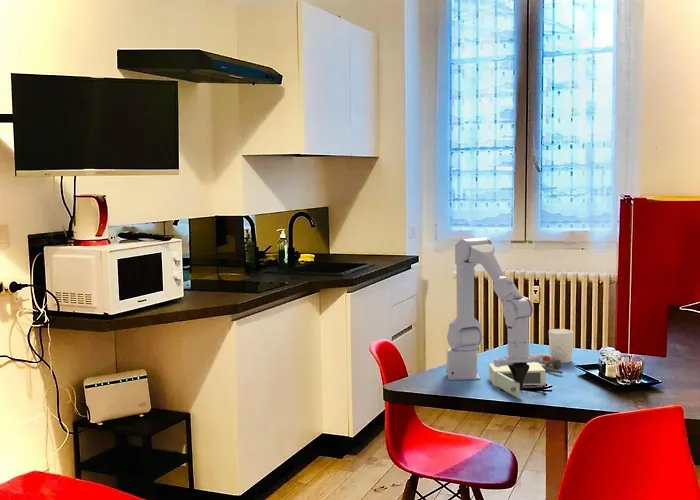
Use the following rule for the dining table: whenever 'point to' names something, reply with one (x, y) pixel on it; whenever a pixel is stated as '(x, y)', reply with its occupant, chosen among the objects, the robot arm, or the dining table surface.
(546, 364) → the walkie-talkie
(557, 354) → the white cup
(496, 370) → the device housing
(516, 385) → the side door
